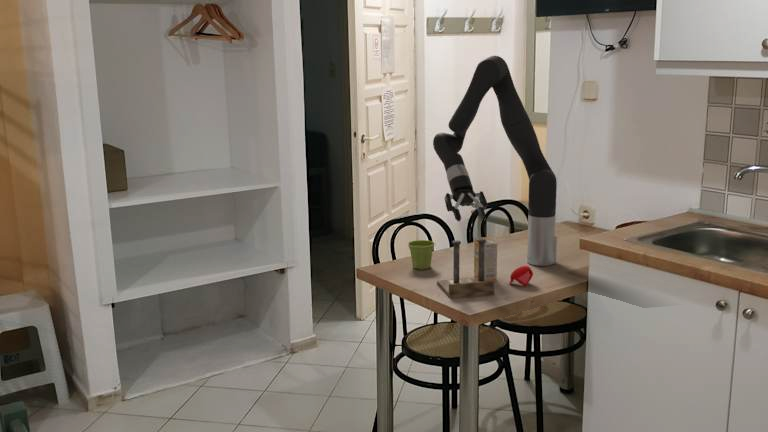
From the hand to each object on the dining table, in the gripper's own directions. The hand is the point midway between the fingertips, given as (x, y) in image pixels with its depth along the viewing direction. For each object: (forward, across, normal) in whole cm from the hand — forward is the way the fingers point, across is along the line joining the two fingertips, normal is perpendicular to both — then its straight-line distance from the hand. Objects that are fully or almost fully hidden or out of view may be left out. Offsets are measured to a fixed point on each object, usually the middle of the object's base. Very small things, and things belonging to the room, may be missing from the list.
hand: (471, 219), depth 256 cm
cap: (+28, +8, -3) cm, 29 cm away
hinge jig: (+27, -10, -2) cm, 29 cm away
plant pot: (+7, -15, +18) cm, 25 cm away
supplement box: (+21, 0, +4) cm, 21 cm away
